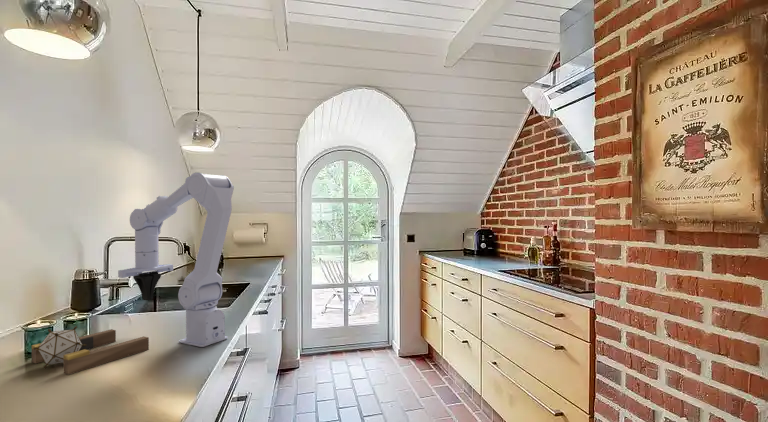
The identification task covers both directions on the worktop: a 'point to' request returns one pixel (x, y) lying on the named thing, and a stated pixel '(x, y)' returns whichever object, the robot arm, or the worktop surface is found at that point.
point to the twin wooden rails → (97, 351)
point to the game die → (59, 346)
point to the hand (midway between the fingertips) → (147, 299)
